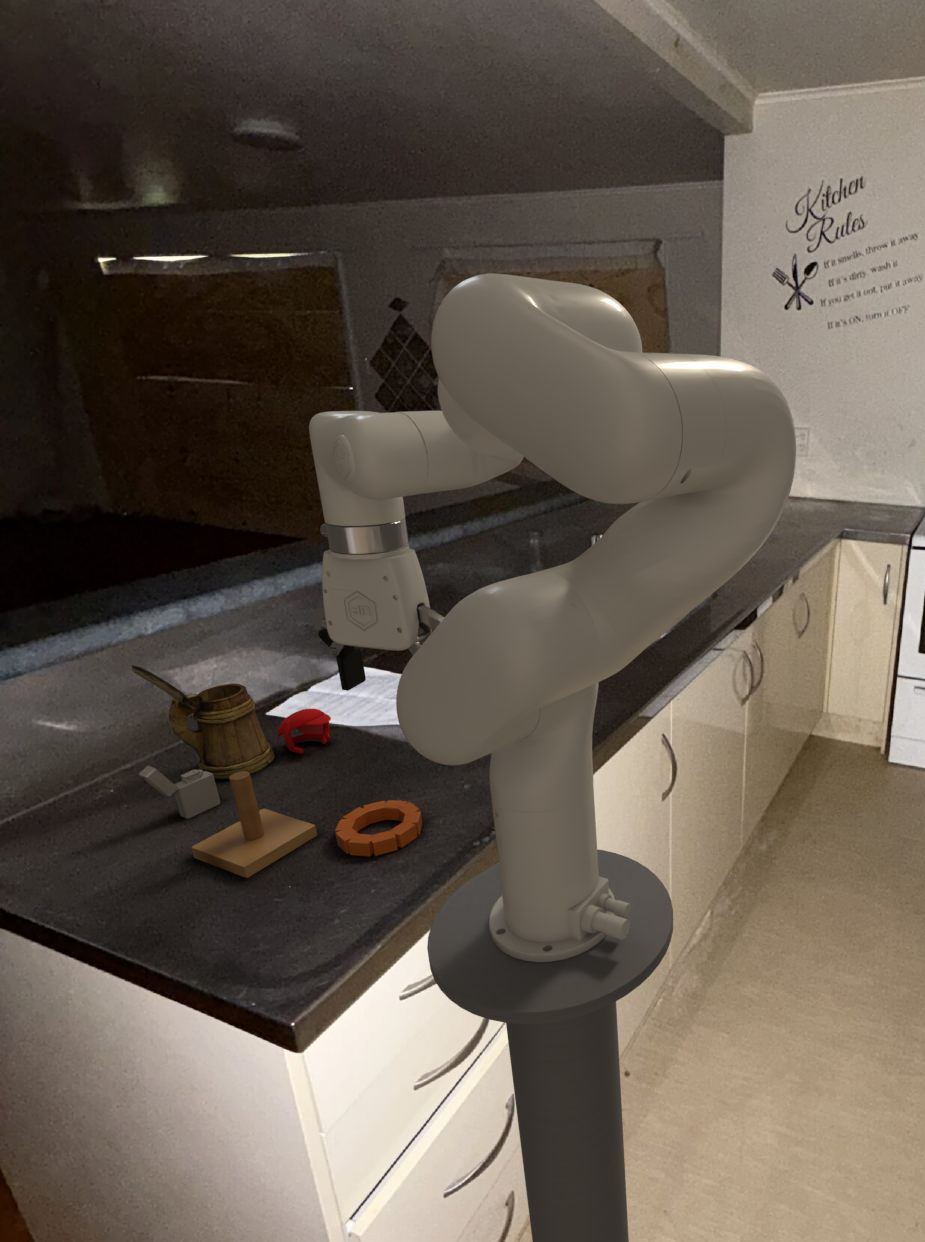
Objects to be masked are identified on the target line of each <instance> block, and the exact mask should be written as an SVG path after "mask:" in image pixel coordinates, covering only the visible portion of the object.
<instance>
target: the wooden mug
mask: <svg viewBox="0 0 925 1242" xmlns="http://www.w3.org/2000/svg"><path fill="white" fill-rule="evenodd" d="M131 671H132V672H133V673H134V674H136V675H137V676H139V677H141V678H142V679H143V680H145V681H147V682H149V683H151V684H152V685H153V686H155V687H157V688H159V689H160V690H161V691H163V692H164V693H166V694H167V695H169V696H170V697H172V699H171V704H170V706H169V709H168V710H169V712H168V719H169V726H170V728H171V730H172V731H173V733H174V735H175V736H177V738H179V739H180V740H181V741H182V742H184V743H185V744H186V745H188V746H189V747H191V748H192V749H193V750H194V751H195V752H196V754H197V756H198V761H197V762H198V770H203V772H204V771H207V772H210V773H212V774H213V776H214V780H215V781H216V780H218V781H219V780H220V781H221V780H222V781H223V780H230V779H229V777H230V776H231V775H232V774H234V773H237V772H241V771H247V772H249V773H250V775H251V774H255V773H257V772H259V771H261V770H262V769H264V768H266V767H267V766H269V764H271V763H272V762H273V760H274V759H275V753H274V751H273V749H272V746H271V744H270V743H269V742H267V739H266V737H265V734H264V731H263V728H262V727H261V723H260V722H259V719H258V716H257V714H256V711H255V707H256V703H255V701H254V699H253V697H252V696H251V695H250V694H249V693H248V690H247V687H246V686H245V685H243V684H240V683H225V684H219V685H216V686H212V687H209V688H206V689H203V690H202V691H200V692H198V693H194V694H189V695H186V694H185V693H184V692H182V691H181V690H179V689H178V688H176V687H175V686H173V685H172V684H171V683H169V682H167V681H166V680H164V679H163V678H162V677H160V676H158V675H157V674H154V673H153V672H152V671H149V670H147V669H146V668H144V667H142V666H137V665H133V664H132V665H131ZM191 715H192V720H194V721H195V722H196V725H197V730H191V729H190V728H189V727H188V725H187V719H188V717H190V716H191Z"/></svg>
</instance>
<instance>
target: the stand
mask: <svg viewBox="0 0 925 1242" xmlns="http://www.w3.org/2000/svg"><path fill="white" fill-rule="evenodd" d="M251 776H252V775H251V774H250V773H249V772H247V771H241V772H237V773H234V774H232V775H231V776H230V777H229V779H228V780H229V784H230V787H231V791H232V795H233V799H234V803H235V806H236V810H237V814H238V818H239V819H238V820H239V821H237V822H235V823H233V824H232V825H230V826H228V827H225V828H224V829H222V830H220V831H218V832H216V833H215V834H213V835H211V836H209V837H207V838H205V839H204V840H201V841H199V842H197V843H195V844H194V845H192V846H191V847H190V849H191V853H192V856H193V859H196V860H199V861H201V862H204V863H206V864H209V865H211V866H213V867H217V868H219V869H222V870H223V871H224V870H225V871H227V872H230V873H232V874H235V875H237V876H240V877H243V878H245V879H248V878H250V877H252V876H253V875H255V874H256V873H258V872H260V871H262V870H264V869H265V868H267V867H268V866H270V865H271V864H273V863H275V862H277V861H278V860H279V859H282V858H283V857H285V856H287V855H288V854H289V853H291V852H293V851H295V850H296V849H298V848H299V847H301V846H303V845H304V844H306V843H307V842H309V841H311V840H313V839H315V838H316V837H317V836H318V831H317V827H316V824H313V823H310V822H307V821H304V820H301V819H299V818H298V819H297V818H295V817H291V816H289V815H286V814H282V813H280V812H276V811H274V810H270V809H268V808H262V809H260V808H259V805H258V801H257V797H256V792H255V789H254V785H253V781H252V777H251Z"/></svg>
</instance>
